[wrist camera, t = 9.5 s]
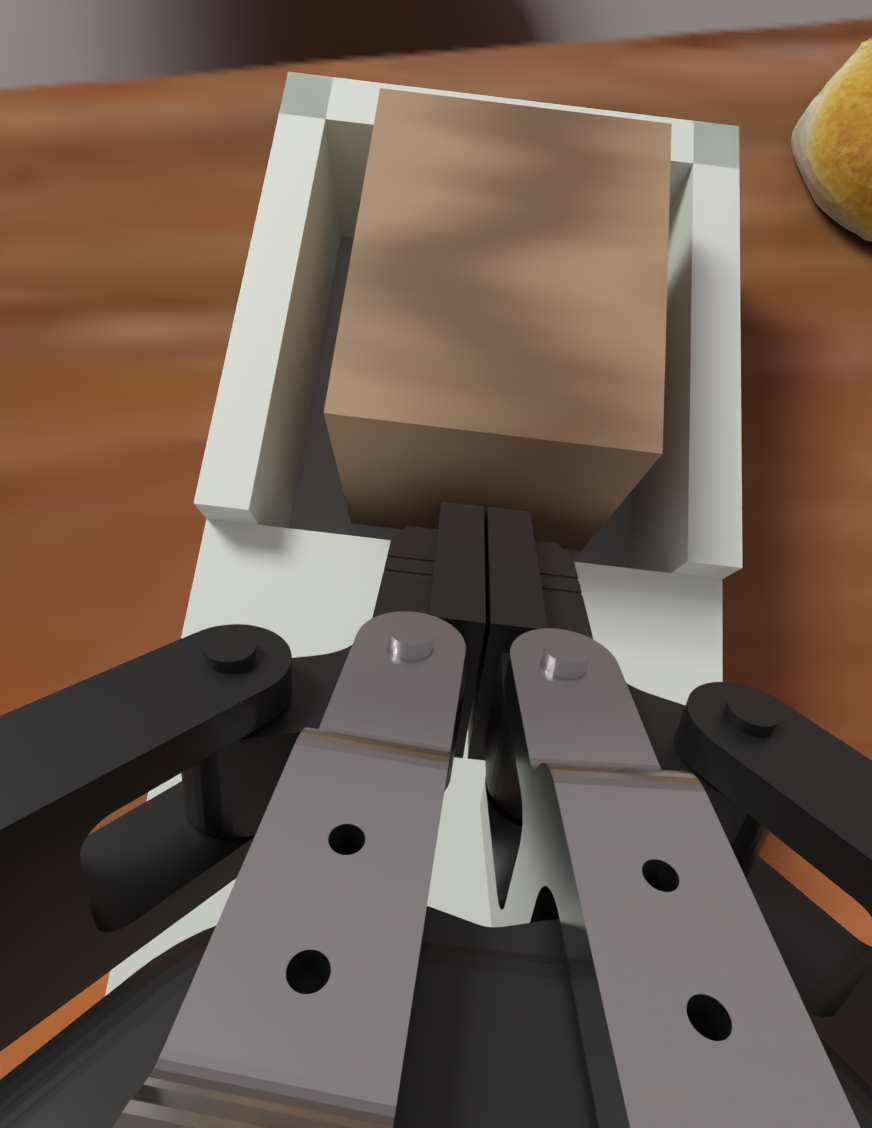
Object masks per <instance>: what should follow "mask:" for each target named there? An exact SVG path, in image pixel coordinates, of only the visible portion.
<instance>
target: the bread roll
mask: <svg viewBox="0 0 872 1128" xmlns="http://www.w3.org/2000/svg"><path fill="white" fill-rule="evenodd" d="M791 144H792V151H793V154H794V158H795V161H796V164H797V167H798V169H799V171H800V173H801V175H802V177H803V180H804V182H805V184H806V186H807V188H808V190H809V191H810V193H811V195H812V197H813V199H814V201H815V202H816V204H817V205H818V206H819V207H820V208H821V210H822V211H823V212H825V213H826V214H827V215H828V216H829V217H830V218H832V219H833V220H834V221H835V222H837V223H838V224H840V225H841V226H842V227H844V228H845V229H847V230H849V231H851V232H853V233H855V234H857V235H858V236H859V237H861V238H862V239H864V240H866V241H870V242H872V38H871V39H869V40H868V41H866V42H862V43H861V45H860V47H859V49H858V50H857V51H856V52H855V53H854V54H853V55H852V56H851V57H850V58H849V60H848V61H847V62H846V63H845V64H844V66H843V67H842V68H841V69H840V70H839V71H838V72H837V73H836V74H835V75H834V76H833V77H832V78H831V79H830V80H829V81H828V82H827V84H826V85H825V87H824V88H823V89H822V90H821V92H820V93H819V94H818V95H817V96H816V97H815V98H814V99H813V101H812V102H811V103H810V105H809V106H808V108H807V109H806V111H805V112H804V114H803V115H802V117H801V118H800V120H799V122H798V123H797V125H796V126H795V128H794V130H793V133H792V139H791Z"/></svg>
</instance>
